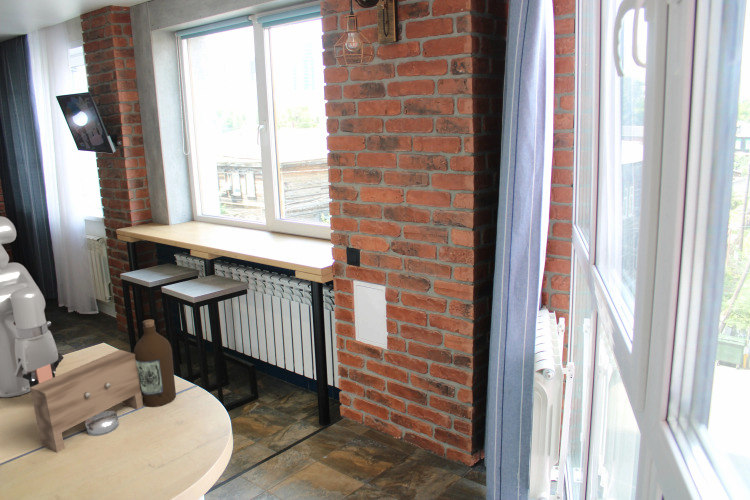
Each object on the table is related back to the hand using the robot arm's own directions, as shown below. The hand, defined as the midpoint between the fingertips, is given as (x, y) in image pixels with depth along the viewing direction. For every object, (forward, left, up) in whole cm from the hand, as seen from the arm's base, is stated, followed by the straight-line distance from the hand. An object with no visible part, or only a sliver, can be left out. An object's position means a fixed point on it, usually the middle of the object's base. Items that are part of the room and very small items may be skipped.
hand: (44, 387), depth 170 cm
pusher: (+8, 0, -6) cm, 9 cm away
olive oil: (+28, +18, -6) cm, 34 cm away
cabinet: (+24, 0, -6) cm, 24 cm away
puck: (+27, 0, -6) cm, 28 cm away
